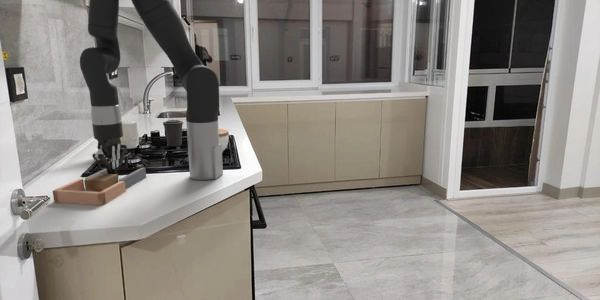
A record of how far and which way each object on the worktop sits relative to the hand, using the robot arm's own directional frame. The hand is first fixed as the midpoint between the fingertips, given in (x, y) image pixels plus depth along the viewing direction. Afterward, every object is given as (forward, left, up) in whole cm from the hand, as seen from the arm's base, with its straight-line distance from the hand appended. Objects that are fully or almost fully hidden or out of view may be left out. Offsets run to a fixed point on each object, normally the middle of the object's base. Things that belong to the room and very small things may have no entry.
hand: (113, 180), depth 120 cm
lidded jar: (-15, -41, -1) cm, 44 cm away
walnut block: (0, +5, -1) cm, 5 cm away
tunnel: (0, -1, -1) cm, 2 cm away
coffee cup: (+5, -49, -1) cm, 50 cm away
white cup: (+21, -43, -1) cm, 48 cm away
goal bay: (0, +11, -1) cm, 11 cm away
